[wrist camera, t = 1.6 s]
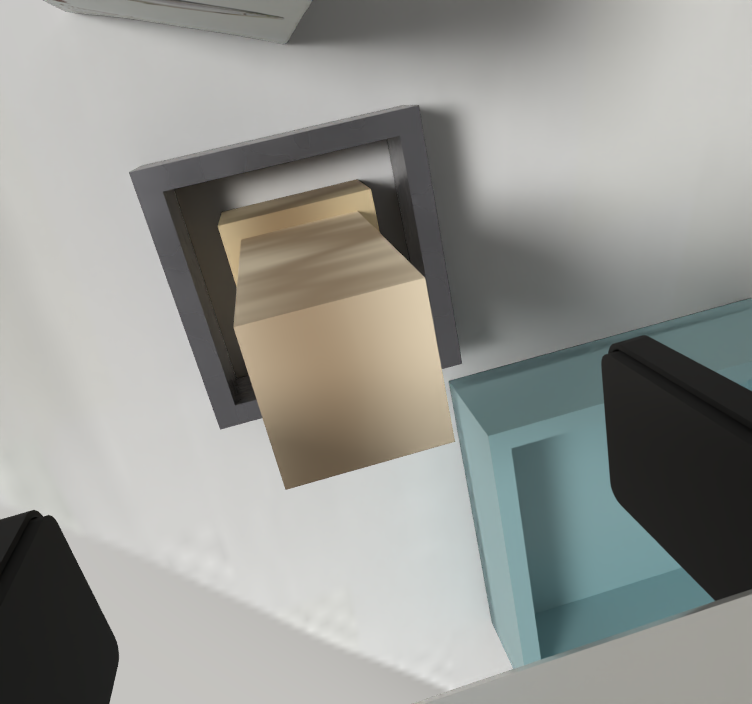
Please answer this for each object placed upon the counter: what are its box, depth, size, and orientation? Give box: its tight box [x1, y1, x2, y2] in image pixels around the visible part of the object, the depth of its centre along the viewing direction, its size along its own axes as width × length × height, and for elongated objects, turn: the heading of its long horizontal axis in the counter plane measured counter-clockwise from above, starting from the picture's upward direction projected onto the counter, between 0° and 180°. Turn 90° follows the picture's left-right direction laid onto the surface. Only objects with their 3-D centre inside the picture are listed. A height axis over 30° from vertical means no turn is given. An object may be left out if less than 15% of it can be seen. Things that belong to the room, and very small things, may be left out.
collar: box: [129, 105, 462, 429], centre depth 23 cm, size 10×10×2 cm
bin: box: [449, 298, 752, 669], centre depth 29 cm, size 15×15×5 cm
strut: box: [218, 180, 455, 490], centre depth 19 cm, size 5×5×12 cm
